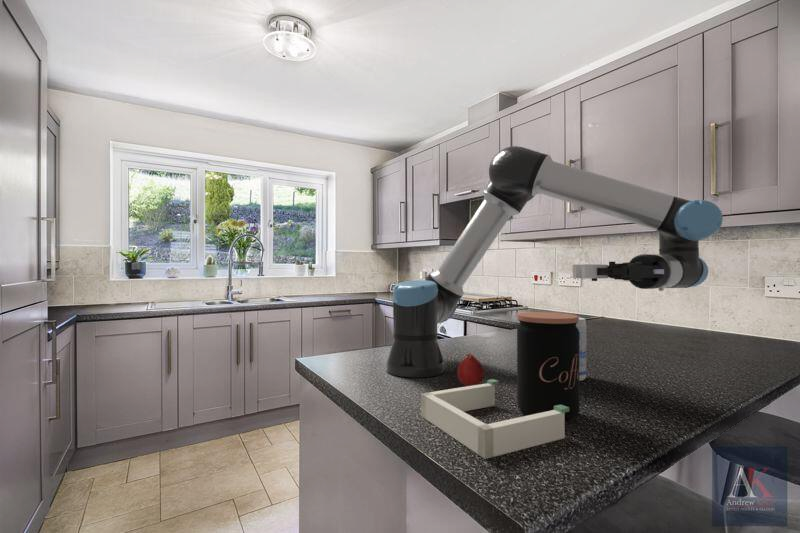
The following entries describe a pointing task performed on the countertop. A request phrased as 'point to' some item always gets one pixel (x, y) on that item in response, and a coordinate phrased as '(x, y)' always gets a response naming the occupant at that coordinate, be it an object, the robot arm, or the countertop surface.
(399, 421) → the countertop surface
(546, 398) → the coffee jar
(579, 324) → the supplement tub
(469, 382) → the onion
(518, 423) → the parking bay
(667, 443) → the countertop surface
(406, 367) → the robot arm
